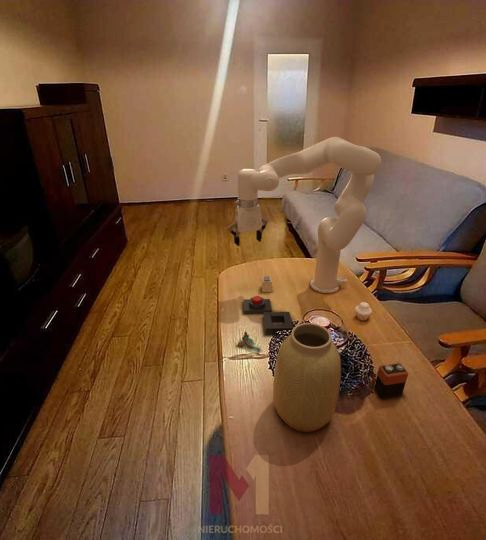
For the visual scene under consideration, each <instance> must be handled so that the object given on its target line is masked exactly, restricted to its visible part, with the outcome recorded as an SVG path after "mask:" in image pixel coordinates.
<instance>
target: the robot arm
mask: <svg viewBox="0 0 486 540" xmlns="http://www.w3.org/2000/svg"><path fill="white" fill-rule="evenodd" d="M330 164H332V165H334V166H337V167H339V168H341V169H344V170H346V171H349V172H351V173H350V178H349V180H348V182H347V184H346V186H345V188H344V189H343V191H342V192H341V194H340V195H339V197H338V198H337V200H336V202H335V204H334V207H333V209H334V213H335V214H336V216H337V218H336V217H334V216H327V217H325V218H323V219H322V220H321V221H320V222H319V224H318V227H317V228H318V229H317V248H316V249H317V250H316V258H315V267H314V268H315V269H314V276H313V277H314V278H312V279H311V280H310V283H309V285H310V288H311V289H312V290H314V291H316V292H318V293H322V294H333V293H336V292H337V291H339V289H340V285H341V284H345V285H348V279H347V278H345V279H344V277H343V276H338V272H339V265H340V257H341V253H342V252H341V250H343V249H345V248H346V247H347V246H348V245H349V244H350V243H351V242H352V240H353V239H354V237H355V236H356V235H357V233H358V231H359V230H360V229H361V228H362V226H363V224H364V222H365V220H366V218H367V208H366V206H365V205H364V203H363V202H364V201H365V199H366V197H367V195H368V194H369V192H370V190H371V189H372V186H373V183H374V179H375V174H377V173H378V171H380V169H381V167H382V157H381V155H380V154H379V153H378V152H376V151H374V150H372V149H370V148H368V147H366V146H363V145H356V144H354V143H352V142H350V141H348V140H346V139H343V138H341V137H340V136H331V137H329V138H327V139H324V140H322V141H319V142H317V143H315V144H313V145H312V146H309V147H307V148H304V149H302V150H300V151H297V152H294V153H293V152H292V153H291V154H287V155H284V156H281V157H278V158H276V159H274V160H272V161H269V162H268V163H266V164H263V165H261V166H260V167H259V169H258V170H256V169H254V168H243V169H240V170H239V171H238V173H237V200H235V201H234V204H235V205H236V208H235V216H234V217H235V218H234V221H233V222H232V223H230V224H229V225H228V226H227V230H228V231H229V233H230V234H232V236H233V243H234V244H235V245H236V246H237V247H240V245H241V243H240V234H245V233H249V232H256V234H255V235H256V236H255V240H257V242H258V243H261V242H262V238H263V233H264V230H265V229H266V228H267V225H268V223H269V221H268V220H267V219H266V218H263V217H262V211H261V205H260V204H259V201H258V199H259V195H258V194H259V191H263V192H273V191H274V190H276V189H277V188H278V187H279V186H280V179H282V178H284V177H287V176H290V175H308V174H310V173H312V172H315V171H317V170H319V169H322V168H324V167H326V166H329V165H330Z"/></svg>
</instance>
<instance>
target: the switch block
mask: <svg viewBox="0 0 486 540" xmlns="http://www.w3.org/2000/svg"><path fill="white" fill-rule="evenodd" d="M253 297H254V296H252V297H250V298H249V299H248V298H247V299H243V300H242V302H243V303H242V306H243V307H242V308H243V315H263V312H273V310H272V303H271V299H270V298H264V297H262V296H260V297H261V298H262V302H261V303H260V304H255V303H253Z"/></svg>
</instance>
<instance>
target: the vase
mask: <svg viewBox="0 0 486 540" xmlns="http://www.w3.org/2000/svg"><path fill="white" fill-rule="evenodd" d="M332 337H333V336H332V334H331V332H330V331H329V329H328V328H326V327H325V326H323V325H320V324H317V323H314V322H304V323H303V322H302V323H299V324H297V325H296V326H293V330H292V332H291V335H288V336H287V337H285V338H284V340H283V341H282V343H281V345H280V347H279V348H278V352H277V355H276V360H275V365H274V371H273V372H274V373H273V382H272V399H273V405H274V409H275V411H276V412H277V414H278V416H279V417H280V418H281V420H282V421H283V422H284V424H286V425H287V426H288V427H290V428H292V429H293V430H296V431H299V432H303V433H304V432H306V433H309V432H314V431H318V430H320V429H321V428H323V427H324V426H326V425H327V424H328V423H330V421H331V419H333V417H334V415H335V412H336V411H337V406H338V403H339V398H340V397H339V396H340V389H341V384H342V383H341V381H342V361H341V360H342V359H341V355H340V352H339V349H338V347H337V345H336V344H335V342H334V341H333V339H332Z"/></svg>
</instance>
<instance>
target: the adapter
mask: <svg viewBox="0 0 486 540" xmlns="http://www.w3.org/2000/svg"><path fill="white" fill-rule="evenodd" d="M262 315H263V319H262V321H263V327H264V336H278V335H277V334H278V333H275V332H277V331H283V330H293V328H294V325H293V324H294V323H293V321H292V317H291V312H290V311H272V312H263V314H262Z"/></svg>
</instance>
